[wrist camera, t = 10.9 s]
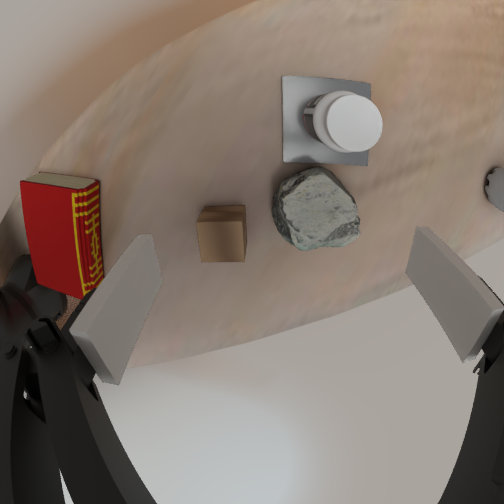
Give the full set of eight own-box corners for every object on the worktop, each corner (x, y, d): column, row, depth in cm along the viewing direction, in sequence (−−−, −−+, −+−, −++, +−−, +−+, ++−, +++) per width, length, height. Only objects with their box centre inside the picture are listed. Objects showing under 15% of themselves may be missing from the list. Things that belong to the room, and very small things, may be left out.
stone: (325, 159, 32) (303, 146, 24) (375, 222, 31) (373, 233, 22) (272, 206, 37) (234, 210, 28) (317, 266, 36) (293, 290, 27)
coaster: (282, 161, 30) (283, 162, 30) (281, 76, 25) (282, 75, 25) (365, 164, 30) (367, 166, 29) (368, 84, 25) (370, 83, 24)
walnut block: (209, 242, 36) (201, 262, 32) (204, 206, 34) (195, 222, 29) (247, 241, 36) (244, 261, 32) (245, 205, 33) (242, 221, 29)
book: (107, 285, 41) (94, 303, 37) (52, 267, 40) (37, 283, 36) (102, 179, 32) (82, 191, 28) (40, 171, 31) (19, 181, 27)
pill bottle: (346, 148, 28) (379, 167, 20) (298, 137, 28) (312, 150, 19) (356, 101, 25) (394, 101, 17) (307, 88, 25) (327, 79, 17)
